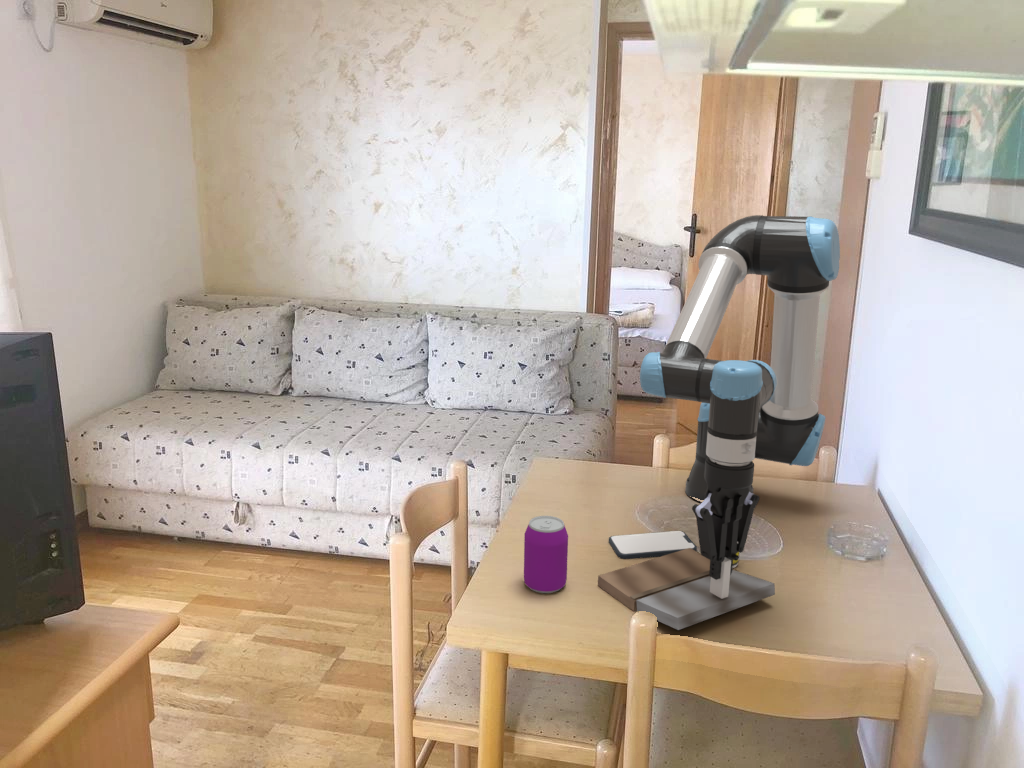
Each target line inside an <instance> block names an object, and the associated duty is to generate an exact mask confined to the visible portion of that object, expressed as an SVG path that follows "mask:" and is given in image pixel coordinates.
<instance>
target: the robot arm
mask: <svg viewBox="0 0 1024 768" xmlns="http://www.w3.org/2000/svg"><path fill="white" fill-rule="evenodd" d="M840 243H841V242H840V235H839V231H838V227H837V225H836V223H835V222H834V221H833V220H831V219H830V218H824V217H823V218H820V217H814V216H789V215H788V216H787V215H786V216H783V215H763V214H760V215H759V214H755V215H749V216H745V217H743V218H739V219H737V220H735V221H733V222H731V223H729V224H728V225H727V226H725V227H723V228H722V229H721V230H720V231H718V232H717V233H716V234H715V235H714V236H713V237H712V238H711V239H710V240H709V242H707V244H706V245H705V246H704V248H703V251H702V252H701V255H700V256H699V258H698V264H697V265H698V269H699V271H698V273H697V275H696V278H695V280H694V283H693V285H692V287H691V289H690V292H689V294H688V296H687V298H686V300H685V302H684V305H682V306H683V307H682V309H681V311H680V314H679V316H678V318H677V320H676V322H675V324H674V326H673V329H672V331H671V333H670V335H669V338H668V340H667V343H666V345H665V346H664V348H663V351H662V352H661V351H656V352H654V351H653V352H648V353H647V354H646V355H645V356H644V357H643V360H642V361H641V364H640V365H641V366H640V369H639V370H640V371H639V384H640V387H641V389H642V391H643V392H644V393H646V394H647V395H652V396H656V397H661V398H664V399H666V398H669V399H677V400H685V401H691V402H692V401H693V402H697V403H700V406H699V411H698V417H697V431H696V432H697V433H696V447H695V458H694V463H693V465H692V467H691V469H690V472H689V475H688V476H687V478H686V481H685V489H684V491H685V494H686V495H687V496H688V497H689V496H691V497H695V498H698V499H700V500H704V501H703V502H702V503H701V502H700V504H696V503H694V504H692V506H691V507H692V508H691V509H692V510H691V511H692V512H693V514H694V516H695V518H696V519H695V520H696V526H697V527H696V528H697V535H698V541H699V542H698V543H699V550H700V552H699V553H700V554H701V555H702V556H704V557H706V558H708V559H710V571H709V575H710V577H711V582H710V592H711V593H713V594H714V595H716V596H718V597H719V598H721V599H723V598H726V597H728V593H729V581H730V575H731V573H732V570H733V568H732V566H733V560H735V561H737V560H738V561H739V559H740V555H739V556H738V555H736V553H738V552H739V554H742V553H743V552H744V550H745V546H746V542H747V538H748V535H749V531H750V527H751V524H752V519H753V516H754V513H755V509H756V507H757V505H758V503H759V501H760V496H759V495H757V494H756V493H754V486H753V482H754V473H755V463H754V462H753V461H754V460H755V459H756V460H757V459H758V460H763V461H770V462H774V463H781V464H787V465H789V466H801V467H808V466H810V465H812V464H813V463H814V461H815V458H816V456H817V452H818V450H819V445H820V443H821V440H822V435H823V431H824V428H825V424H826V416H825V415H824V414H821V413H819V405H818V403H817V402H816V401H815V400H814V399H813V396H812V395H813V386H814V372H815V359H816V348H817V347H816V346H817V333H818V322H819V321H818V320H819V311H820V310H819V307H820V297H821V294H822V293H824V292H825V291H826V290H828V288H829V287H830V282H831V281H833V280H836V279H837V278H838V275H839V273H840V272H839V271H840V259H841V246H840V245H841V244H840ZM747 275H756V276H757V275H759V276H766V277H767V288H768V289H770V290H771V291H772V292H773V293H774V296H773V297H774V299H773V300H774V301H773V302H774V303H773V317H772V318H773V320H772V334H771V335H772V336H771V337H772V338H771V339H772V340H771V353H770V354H771V356H770V365H769V364H768V363H766V362H764V361H762V360H757V359H748V360H740V359H736V360H734V359H729V360H719V359H712V358H708V355H709V353H710V350H711V348H712V345H713V342H714V340H715V338H716V335H717V333H718V331H719V328H720V326H721V323H722V321H723V320H724V316H725V313H726V311H727V308H728V306H729V303H730V301H731V299H732V297H733V295H734V291H735V289H736V287H737V286H738V285H739V284H741V283H742V282H743V281H744V280H745V278H746V276H747ZM737 542H738V543H737Z"/></svg>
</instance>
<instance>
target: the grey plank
mask: <svg viewBox="0 0 1024 768" xmlns="http://www.w3.org/2000/svg"><path fill="white" fill-rule="evenodd" d="M710 582H711V577H710V576H708V577H705V578H702V579H699V580H696V581H693V582H690V583H687V584H684V585H681V586H678V587H675V588H672V589H669V590H666V591H663V592H660V593H657V594H654V595H651V596H648V597H645V598H642V599H639V600H636V602H637V610H636V612H637V611H646V612H650V613H652V614H654V615H655V616H656V617H657V620H658V621H657V620H656V621H657V622H660V624H661V623H662V624H664V625H666V626H668V627H670V628H673V629H675V630H677V631H680V630H682V629H685V628H688V627H691V626H693V625H696V624H699V623H701V622H703V621H707V620H710V619H712V618H714V617H717V616H720V615H723V614H725V613H729V612H731V611H735V610H737V609H739V608H742V607H745V606H748V605H751V604H753V603H756V602H759V601H762V600H764V599H767V598H768V597H769V598H770V597H772V596H775V595H776V587H775V583H774V582H772V581H769V580H766V579H763V578H760V577H757V576H753V575H750V574H747V573H744V572H741V571H739V570H735V569H732V573H731V575H730V581H729V593H728V597H726V598H723V599H721V598H719V597H718V596H716V595H714V594H713V593H711V592H710Z"/></svg>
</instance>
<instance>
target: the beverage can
mask: <svg viewBox="0 0 1024 768" xmlns="http://www.w3.org/2000/svg"><path fill="white" fill-rule="evenodd" d="M523 539H524V540H523V541H524V542H523V543H524V545H523V548H524V549H523V550H524V551H523V552H524V553H523V580H524V584H525V585H526V586H527V587H528V588H529V589H530V590H531V591H533V592H536V593H539V594H554V593H556V592H558V591H560V590H561V589H563V588H564V587H565V586H566V584H567V578H568V576H567V575H568V551H569V534H568V531H567V528H566V526H565V523H564V520H563V519H561V518H560V517H557V516H552V515H538V516H535V517H532V518H531V519H530V520H529V522H528V525H527V527H526V529H525V531H524V538H523ZM553 592H554V593H553Z"/></svg>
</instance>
